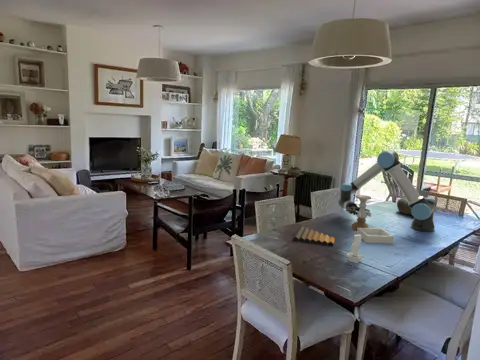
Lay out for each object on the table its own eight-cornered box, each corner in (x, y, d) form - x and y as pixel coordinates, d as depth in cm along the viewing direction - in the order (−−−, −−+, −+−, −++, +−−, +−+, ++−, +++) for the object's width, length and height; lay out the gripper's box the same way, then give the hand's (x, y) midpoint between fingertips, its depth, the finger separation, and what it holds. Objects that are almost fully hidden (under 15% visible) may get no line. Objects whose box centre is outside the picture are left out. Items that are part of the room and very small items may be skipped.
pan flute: (299, 230, 245) (292, 241, 221) (299, 225, 244) (293, 236, 221) (336, 234, 237) (333, 247, 214) (336, 230, 236) (333, 241, 213)
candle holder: (369, 232, 242) (373, 198, 238) (353, 231, 245) (356, 197, 240) (367, 227, 253) (370, 195, 249) (351, 226, 255) (354, 194, 251)
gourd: (431, 210, 301) (431, 190, 296) (428, 221, 281) (428, 201, 276) (399, 208, 314) (399, 189, 310) (394, 218, 294) (394, 199, 290)
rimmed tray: (381, 234, 239) (382, 228, 238) (392, 243, 222) (393, 236, 221) (356, 234, 238) (357, 227, 237) (366, 242, 221) (367, 236, 221)
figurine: (344, 262, 190) (347, 235, 188) (351, 257, 197) (353, 231, 195) (358, 265, 186) (360, 238, 183) (364, 260, 193) (366, 234, 190)
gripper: (362, 211, 266) (378, 220, 244) (337, 211, 263) (351, 220, 241) (363, 201, 265) (379, 209, 243) (338, 201, 262) (352, 209, 240)
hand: (365, 214), depth 242 cm, fingers closed on candle holder, 7 cm apart
